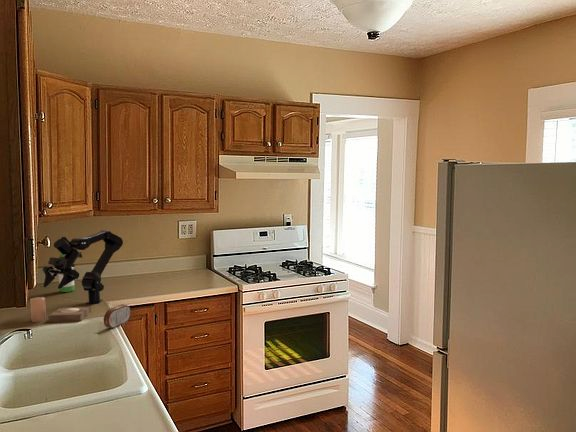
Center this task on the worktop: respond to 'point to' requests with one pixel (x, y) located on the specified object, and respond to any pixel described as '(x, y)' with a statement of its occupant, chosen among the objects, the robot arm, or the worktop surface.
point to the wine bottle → (69, 286)
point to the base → (69, 314)
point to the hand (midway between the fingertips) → (51, 287)
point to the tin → (117, 316)
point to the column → (38, 309)
